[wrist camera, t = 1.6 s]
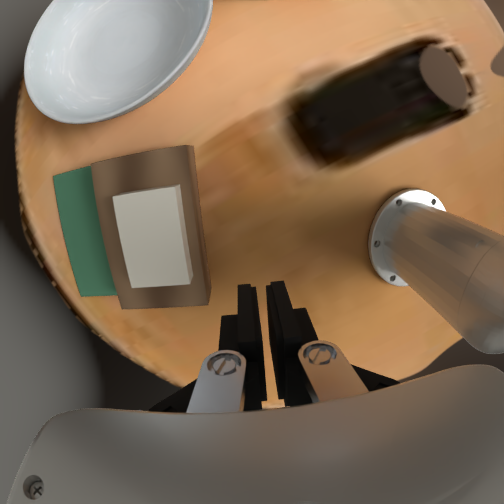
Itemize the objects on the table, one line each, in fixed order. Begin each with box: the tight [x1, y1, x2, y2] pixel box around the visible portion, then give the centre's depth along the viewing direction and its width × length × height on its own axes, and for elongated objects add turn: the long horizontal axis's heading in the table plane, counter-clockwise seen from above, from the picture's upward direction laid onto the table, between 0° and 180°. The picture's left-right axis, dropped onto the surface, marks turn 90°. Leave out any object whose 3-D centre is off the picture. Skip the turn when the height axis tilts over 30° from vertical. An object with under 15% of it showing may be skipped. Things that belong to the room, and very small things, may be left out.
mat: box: [53, 166, 117, 297], centre depth 29 cm, size 8×16×1 cm, turn 5°
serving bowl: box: [24, 0, 213, 124], centre depth 19 cm, size 21×21×7 cm
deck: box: [91, 145, 211, 309], centre depth 28 cm, size 10×16×4 cm, turn 5°
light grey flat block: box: [113, 184, 193, 288], centre depth 25 cm, size 6×9×2 cm, turn 5°
